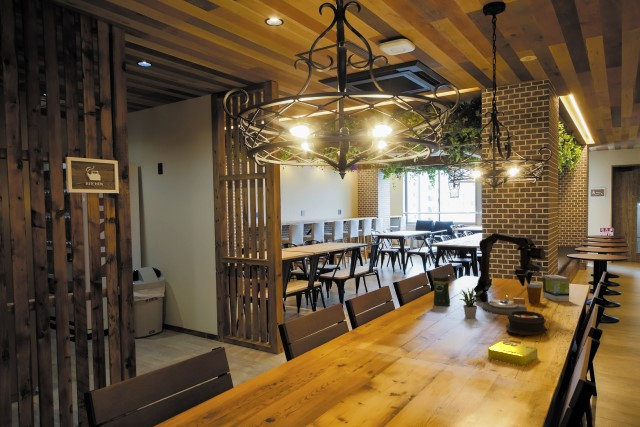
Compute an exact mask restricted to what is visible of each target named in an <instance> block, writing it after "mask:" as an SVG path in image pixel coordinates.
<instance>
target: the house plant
mask: <svg viewBox="0 0 640 427" xmlns="http://www.w3.org/2000/svg"><path fill="white" fill-rule="evenodd" d="M467 291H468V292H465V291H464V290H463V289H461V291H460V292H459V294H461V295H462V296H463V297H464V298H459V299H458V300H459V301H463V302H464V304H463V311H464V316H465V318H466V317H467V319H470V318H473V319H476V316H477V310H478V307H477V305H476V304H477V301H479V300H478V298H477V299H476V296H477V295H478V294H479V293H483V292H482V291H480V292H478V293H477V294H476V293H475V292H474V288H472V289H471V291H470V289H469V288H467ZM474 293H475V294H474ZM479 295H480V294H479Z"/></svg>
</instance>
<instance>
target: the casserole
mask: <svg viewBox="0 0 640 427" xmlns="http://www.w3.org/2000/svg"><path fill="white" fill-rule="evenodd" d="M506 318H507V320H508V322H509V323H506V325H505V328H506V329H507V331H508V332H509V333H512V334H518V335H522V336H523V335H524V336H534V335H539V334H543V333H546V332H548V331H549V328H547V327H546V325H545V323H546V322H547V319H546V318H545V317H544V315H543V314H541V313H538V312H535V311H528V310H527V311H513V312H510V313H509V315H507V316H506Z"/></svg>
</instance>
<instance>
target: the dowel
mask: <svg viewBox="0 0 640 427" xmlns="http://www.w3.org/2000/svg"><path fill="white" fill-rule="evenodd" d="M504 297H505V299H504V300H508V301H510V296H509V294H508V295H507V294H506V295H505V296H504Z"/></svg>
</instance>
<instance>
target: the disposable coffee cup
mask: <svg viewBox="0 0 640 427" xmlns="http://www.w3.org/2000/svg"><path fill="white" fill-rule="evenodd" d="M525 286H526V292H527V299H528V303H529V304H530V303H531V304H540V303H541V296H542V291H543V282H542V283H541V282H539V281H538V282H537V281H536V282H535V281H531V282H530V284H528V283H527V282H526V284H525Z"/></svg>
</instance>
